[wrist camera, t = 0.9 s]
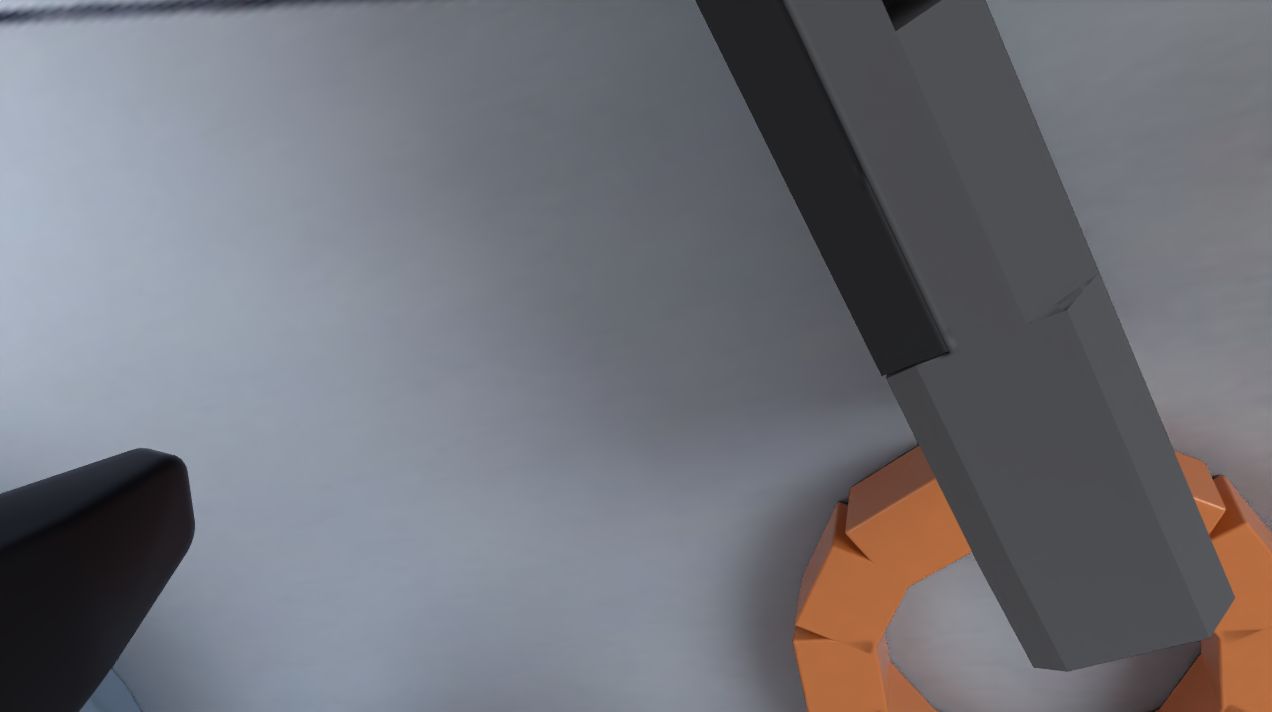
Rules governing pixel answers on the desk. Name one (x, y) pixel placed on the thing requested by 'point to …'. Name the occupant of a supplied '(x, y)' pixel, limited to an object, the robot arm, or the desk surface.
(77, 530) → the robot arm
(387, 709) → the desk surface
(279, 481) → the desk surface
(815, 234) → the handheld gaming console
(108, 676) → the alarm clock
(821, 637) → the ring
